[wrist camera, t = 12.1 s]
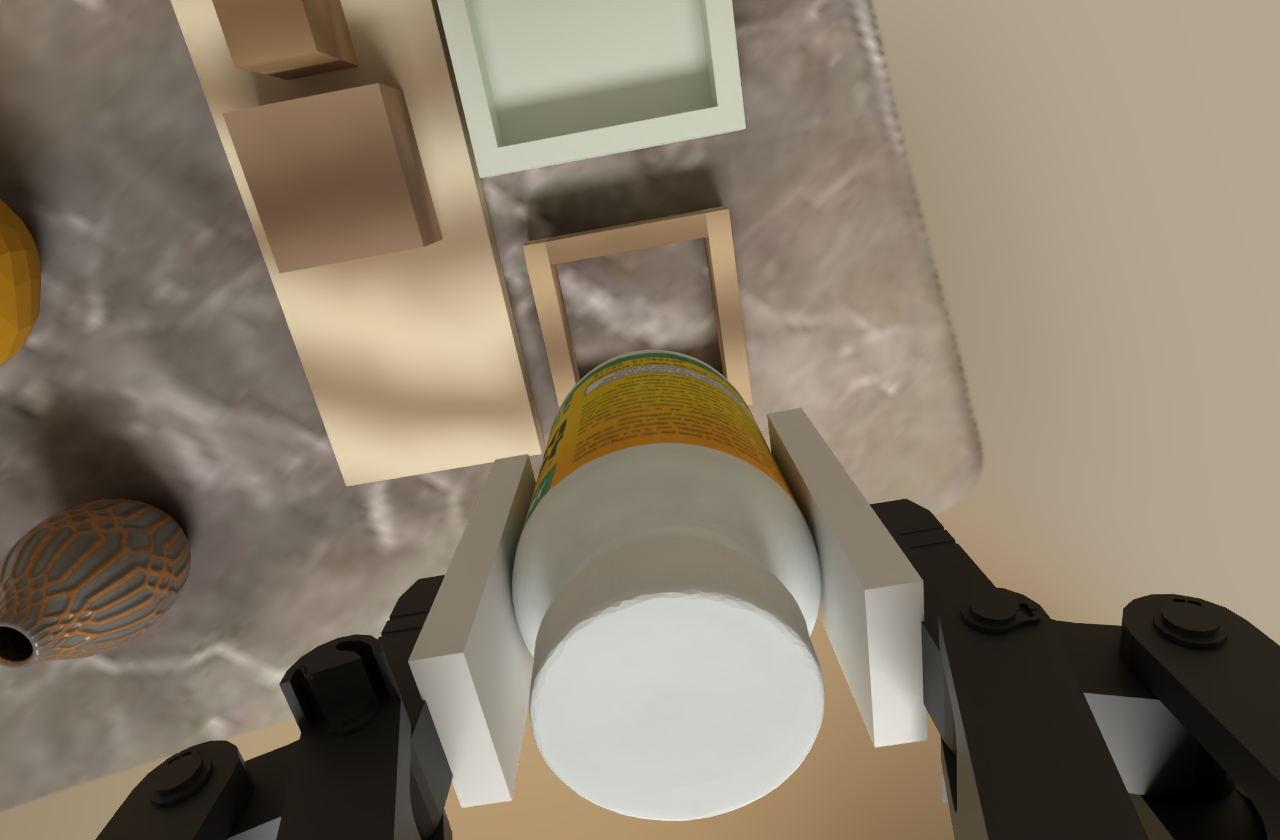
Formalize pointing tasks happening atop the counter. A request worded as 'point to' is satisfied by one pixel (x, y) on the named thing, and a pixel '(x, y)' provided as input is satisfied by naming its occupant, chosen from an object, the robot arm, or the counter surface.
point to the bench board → (390, 283)
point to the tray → (590, 76)
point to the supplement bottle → (667, 596)
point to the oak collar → (628, 238)
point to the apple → (17, 283)
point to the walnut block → (335, 176)
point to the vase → (89, 581)
